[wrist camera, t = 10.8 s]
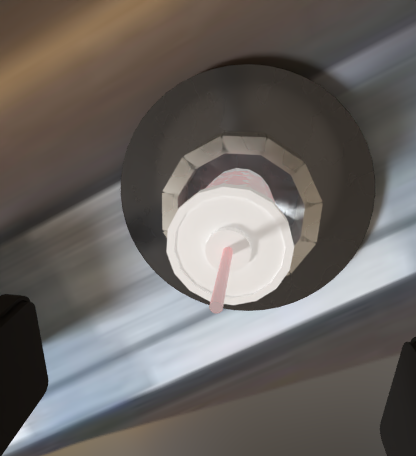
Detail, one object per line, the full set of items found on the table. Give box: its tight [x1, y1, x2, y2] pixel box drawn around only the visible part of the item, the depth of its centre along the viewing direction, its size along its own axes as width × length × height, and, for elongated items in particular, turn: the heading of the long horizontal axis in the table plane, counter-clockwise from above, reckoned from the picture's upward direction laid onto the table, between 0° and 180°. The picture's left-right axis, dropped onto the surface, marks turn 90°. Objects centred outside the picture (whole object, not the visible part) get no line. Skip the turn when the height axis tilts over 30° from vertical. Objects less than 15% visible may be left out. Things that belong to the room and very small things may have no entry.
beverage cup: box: [166, 168, 294, 313], centre depth 18 cm, size 6×6×14 cm
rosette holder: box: [121, 64, 375, 311], centre depth 24 cm, size 18×18×5 cm
